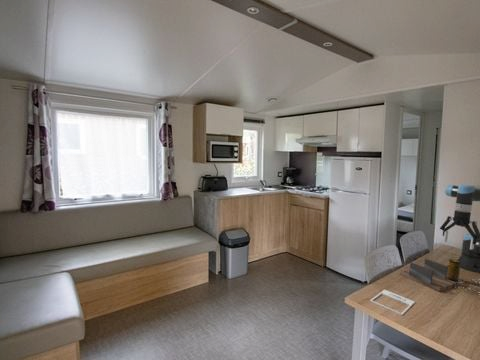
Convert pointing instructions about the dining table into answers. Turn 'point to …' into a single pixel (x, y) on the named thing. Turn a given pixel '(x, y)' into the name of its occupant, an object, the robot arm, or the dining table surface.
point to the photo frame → (396, 297)
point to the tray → (429, 275)
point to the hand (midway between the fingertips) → (457, 245)
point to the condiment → (453, 271)
